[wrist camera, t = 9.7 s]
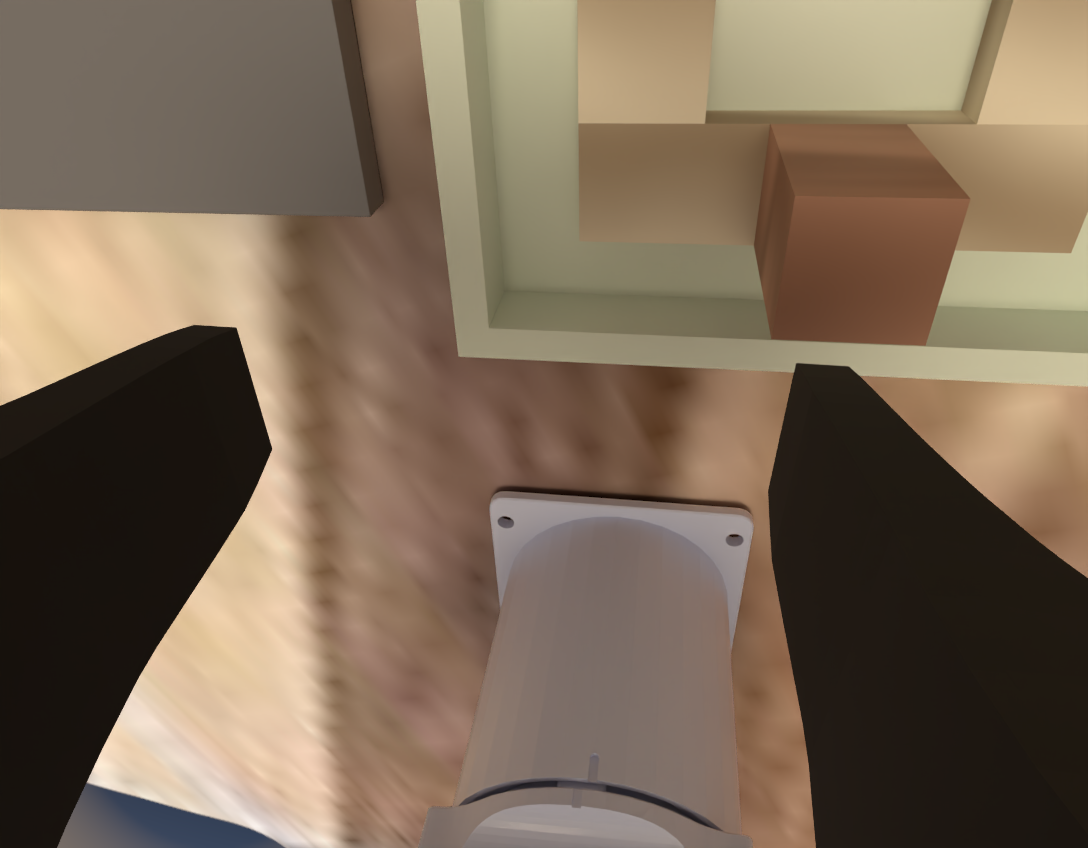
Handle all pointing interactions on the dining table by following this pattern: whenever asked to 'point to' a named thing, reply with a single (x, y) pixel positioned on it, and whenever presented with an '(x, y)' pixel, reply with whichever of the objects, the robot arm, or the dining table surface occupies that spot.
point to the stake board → (185, 108)
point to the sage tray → (703, 269)
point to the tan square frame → (834, 166)
